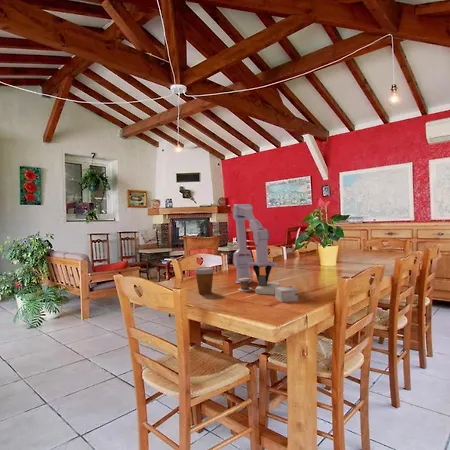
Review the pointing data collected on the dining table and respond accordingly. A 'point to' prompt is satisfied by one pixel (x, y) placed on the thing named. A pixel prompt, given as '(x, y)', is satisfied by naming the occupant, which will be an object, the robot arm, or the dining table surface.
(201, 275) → the disposable coffee cup
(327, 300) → the dining table surface
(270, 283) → the notch board
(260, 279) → the block
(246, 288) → the bobbin post
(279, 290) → the small box
